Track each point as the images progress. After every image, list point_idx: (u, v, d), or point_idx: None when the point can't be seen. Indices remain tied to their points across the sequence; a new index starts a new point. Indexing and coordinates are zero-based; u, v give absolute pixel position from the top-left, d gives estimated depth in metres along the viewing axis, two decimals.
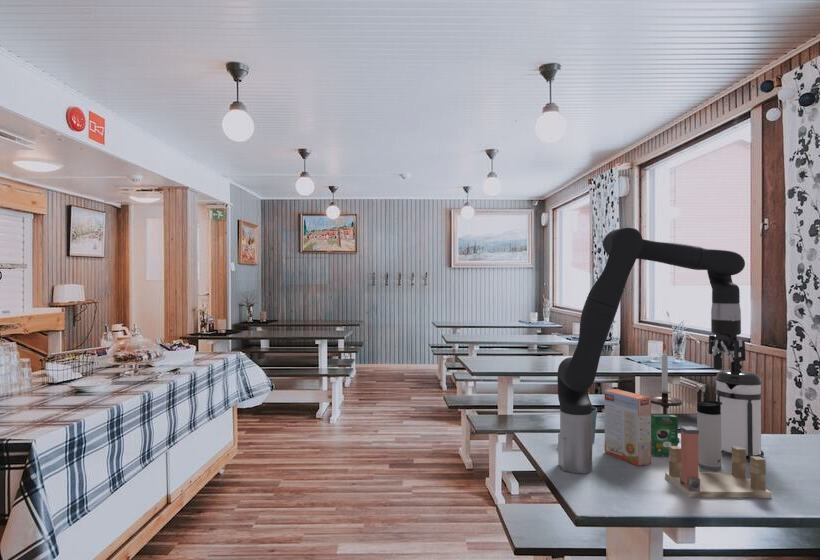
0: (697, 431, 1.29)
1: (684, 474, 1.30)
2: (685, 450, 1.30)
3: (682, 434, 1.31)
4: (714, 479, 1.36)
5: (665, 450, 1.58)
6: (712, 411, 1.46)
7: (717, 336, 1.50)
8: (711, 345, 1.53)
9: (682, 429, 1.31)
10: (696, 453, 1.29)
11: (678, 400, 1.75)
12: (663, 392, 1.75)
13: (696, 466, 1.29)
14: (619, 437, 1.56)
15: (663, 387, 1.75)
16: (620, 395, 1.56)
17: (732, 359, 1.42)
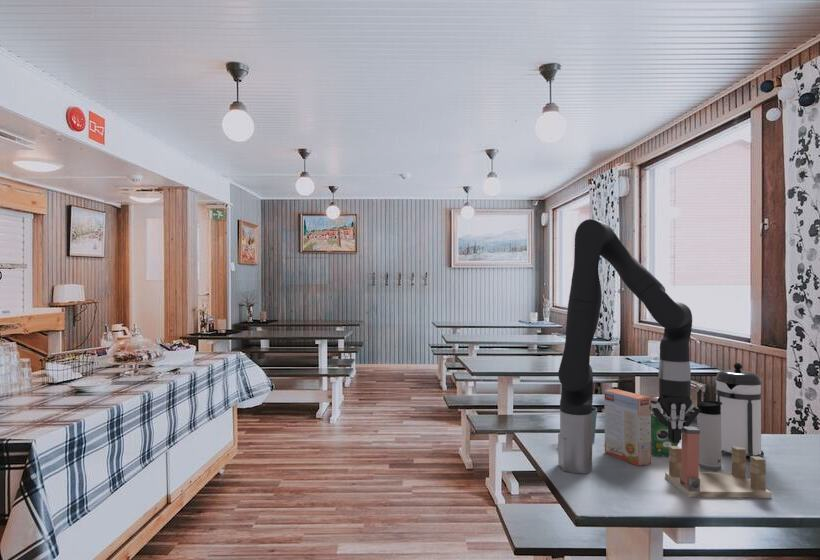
0: (698, 431, 1.29)
1: (684, 473, 1.30)
2: (686, 450, 1.30)
3: (683, 434, 1.31)
4: (714, 479, 1.36)
5: (665, 450, 1.58)
6: (712, 411, 1.46)
7: (664, 398, 1.30)
8: (662, 416, 1.30)
9: (683, 429, 1.31)
10: (697, 453, 1.29)
11: None
12: None
13: (696, 466, 1.29)
14: (619, 437, 1.56)
15: None
16: (620, 395, 1.56)
17: (681, 427, 1.29)
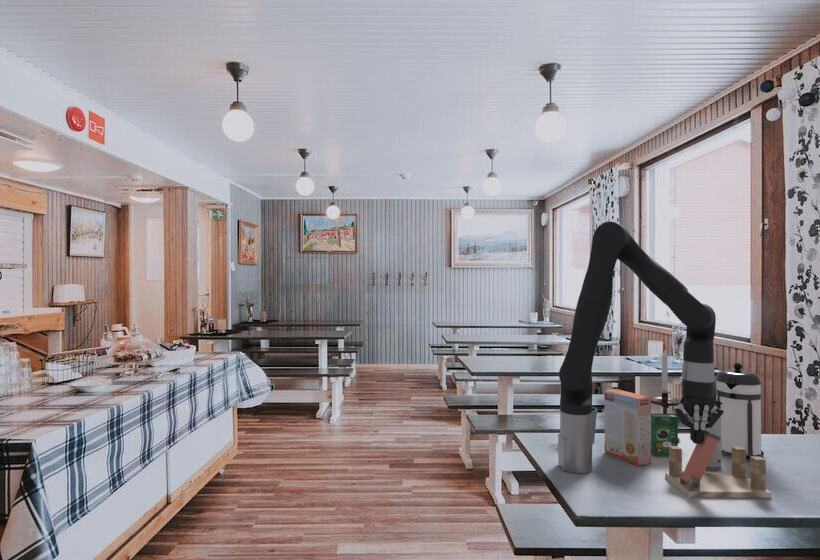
0: (719, 438, 1.29)
1: (688, 472, 1.30)
2: (699, 451, 1.30)
3: None
4: (714, 479, 1.36)
5: (665, 450, 1.58)
6: None
7: (687, 399, 1.30)
8: (685, 417, 1.30)
9: (704, 431, 1.31)
10: (708, 457, 1.29)
11: (678, 400, 1.75)
12: (663, 392, 1.75)
13: (703, 469, 1.29)
14: (619, 437, 1.56)
15: (663, 387, 1.75)
16: (620, 395, 1.56)
17: (703, 428, 1.29)
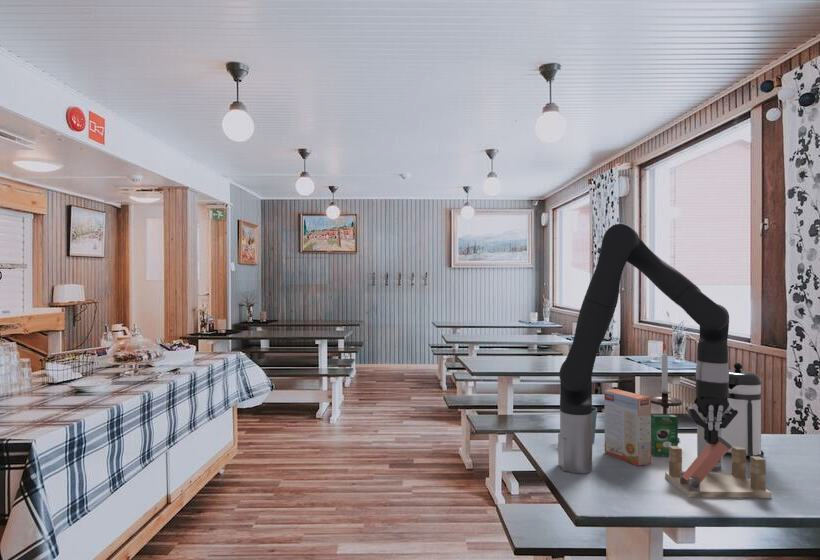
0: (730, 446, 1.29)
1: (690, 472, 1.30)
2: (707, 454, 1.30)
3: None
4: (714, 479, 1.36)
5: (665, 450, 1.58)
6: None
7: (702, 399, 1.30)
8: (699, 417, 1.30)
9: None
10: (714, 462, 1.29)
11: (678, 400, 1.75)
12: (663, 392, 1.75)
13: (706, 472, 1.29)
14: (619, 437, 1.56)
15: (663, 387, 1.75)
16: (620, 395, 1.56)
17: (718, 428, 1.29)
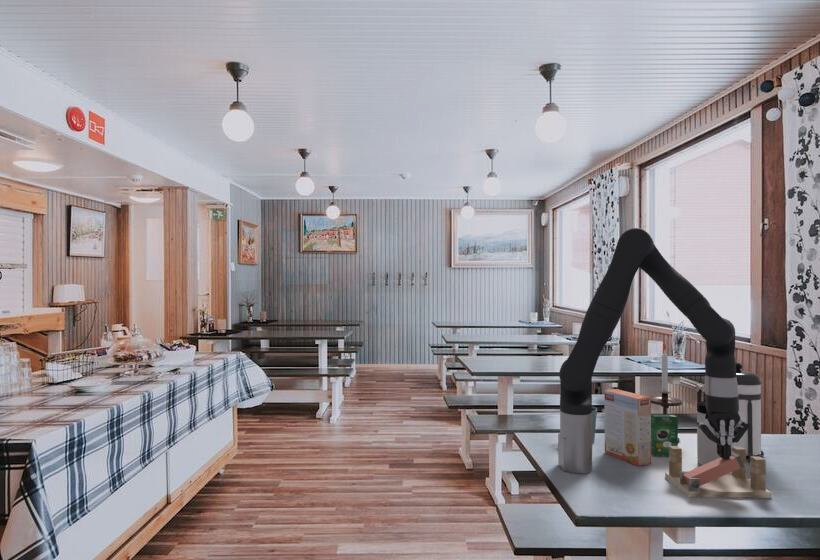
0: (742, 466, 1.29)
1: (694, 473, 1.30)
2: (717, 463, 1.30)
3: None
4: None
5: (665, 450, 1.58)
6: None
7: (712, 415, 1.29)
8: (711, 432, 1.30)
9: (732, 453, 1.31)
10: (721, 474, 1.29)
11: (678, 400, 1.75)
12: (663, 392, 1.75)
13: (709, 479, 1.29)
14: (619, 437, 1.56)
15: (663, 387, 1.75)
16: (620, 395, 1.56)
17: (730, 442, 1.29)
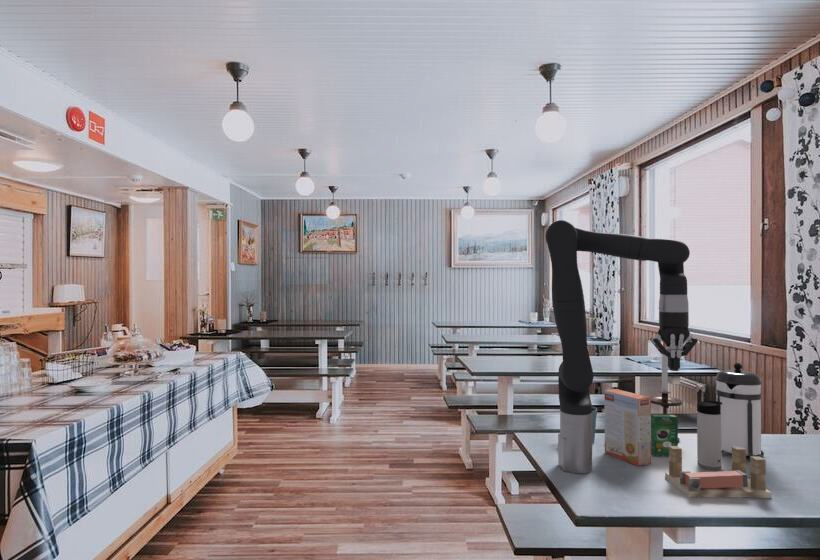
0: (745, 485, 1.28)
1: (697, 475, 1.30)
2: (722, 474, 1.29)
3: (734, 472, 1.31)
4: None
5: (665, 450, 1.58)
6: (712, 411, 1.46)
7: (664, 329, 1.40)
8: (662, 346, 1.40)
9: (740, 471, 1.30)
10: (723, 485, 1.29)
11: (678, 400, 1.75)
12: (663, 392, 1.75)
13: (709, 485, 1.29)
14: (619, 437, 1.56)
15: (663, 387, 1.75)
16: (620, 395, 1.56)
17: (679, 356, 1.39)
